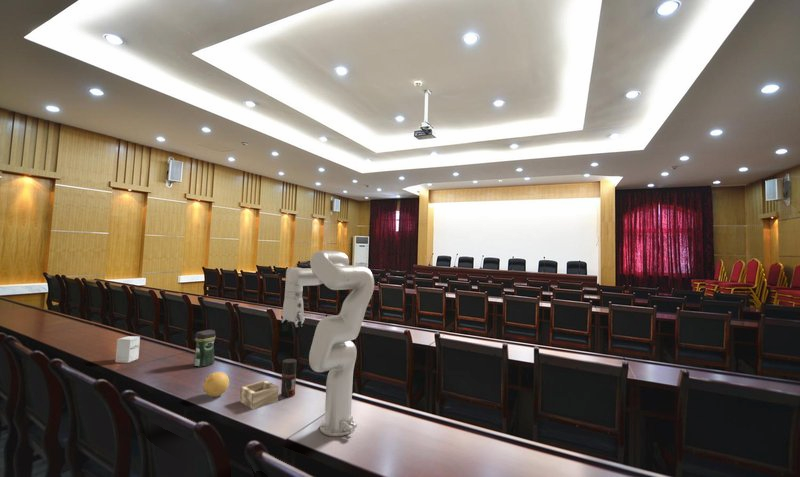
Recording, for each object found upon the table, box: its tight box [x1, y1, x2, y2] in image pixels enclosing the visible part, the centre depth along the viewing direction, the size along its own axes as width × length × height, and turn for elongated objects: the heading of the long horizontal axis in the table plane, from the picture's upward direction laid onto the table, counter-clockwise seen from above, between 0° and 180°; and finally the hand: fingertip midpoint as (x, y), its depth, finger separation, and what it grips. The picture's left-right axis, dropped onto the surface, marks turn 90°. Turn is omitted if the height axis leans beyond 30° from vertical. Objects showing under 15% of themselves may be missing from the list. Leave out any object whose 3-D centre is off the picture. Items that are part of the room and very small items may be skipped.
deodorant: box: [280, 358, 298, 399], centre depth 153 cm, size 6×6×15 cm
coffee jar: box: [193, 329, 216, 368], centre depth 188 cm, size 10×8×19 cm
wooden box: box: [239, 379, 279, 410], centre depth 145 cm, size 11×11×6 cm
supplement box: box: [115, 335, 141, 364], centre depth 190 cm, size 7×7×13 cm
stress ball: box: [202, 371, 230, 398], centre depth 149 cm, size 10×10×10 cm
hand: (291, 333), depth 153 cm, fingers open, 9 cm apart
